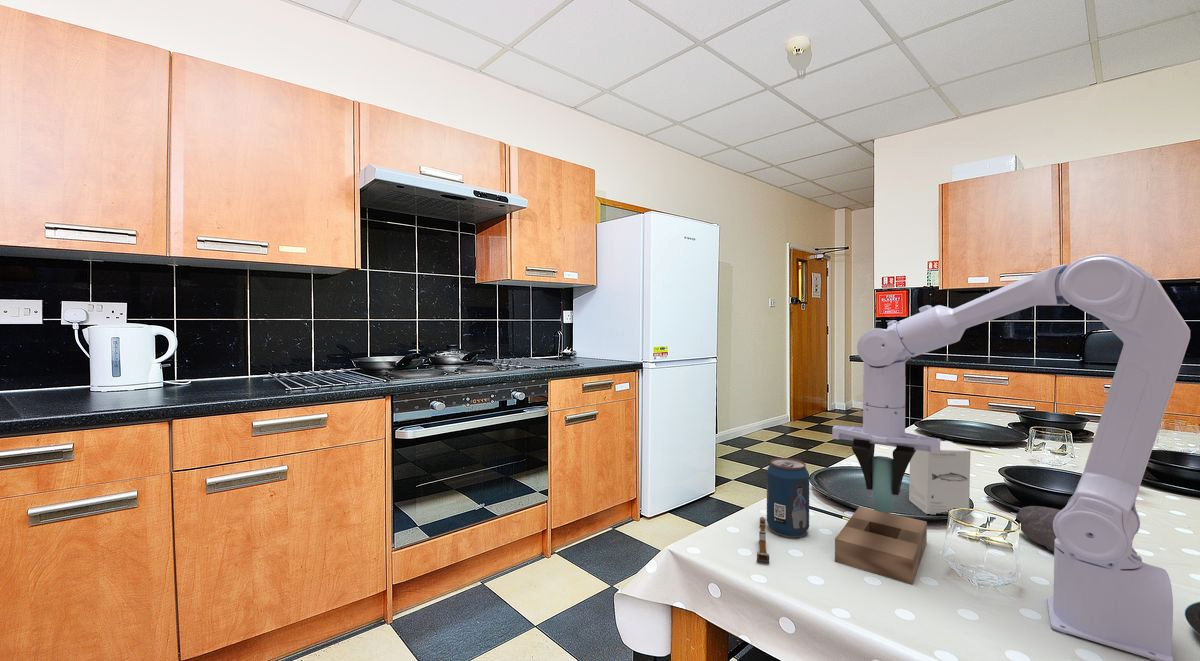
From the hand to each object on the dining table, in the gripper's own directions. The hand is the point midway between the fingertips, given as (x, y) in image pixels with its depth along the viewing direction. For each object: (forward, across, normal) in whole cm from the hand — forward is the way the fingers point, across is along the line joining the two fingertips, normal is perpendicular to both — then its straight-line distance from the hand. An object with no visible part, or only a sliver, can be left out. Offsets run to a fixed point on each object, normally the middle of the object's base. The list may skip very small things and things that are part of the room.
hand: (883, 490), depth 75 cm
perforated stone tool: (+10, +22, +17) cm, 30 cm away
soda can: (+10, -14, -2) cm, 17 cm away
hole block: (+10, 0, 0) cm, 10 cm away
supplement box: (+10, +5, +26) cm, 28 cm away
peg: (+3, 0, 0) cm, 3 cm away
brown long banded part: (+10, -15, -12) cm, 22 cm away
